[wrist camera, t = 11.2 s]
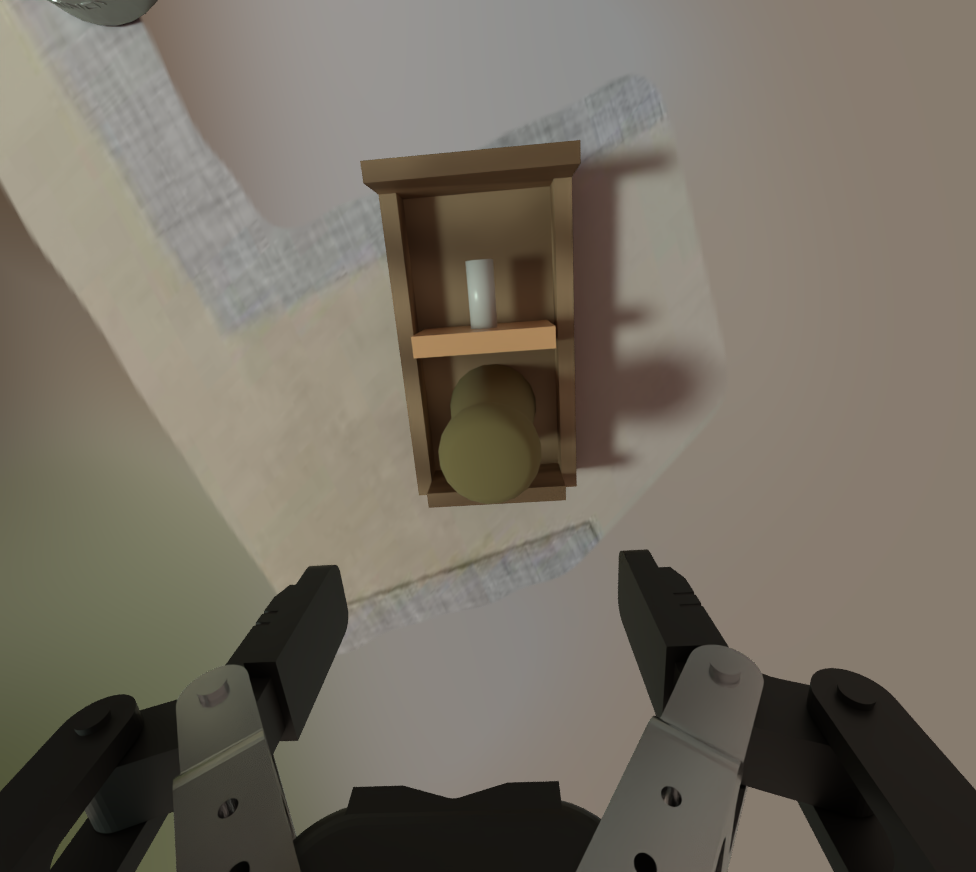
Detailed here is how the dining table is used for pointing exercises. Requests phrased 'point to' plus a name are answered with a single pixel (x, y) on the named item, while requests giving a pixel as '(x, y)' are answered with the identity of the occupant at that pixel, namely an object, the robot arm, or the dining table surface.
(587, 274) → the dining table surface
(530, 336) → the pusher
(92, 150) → the dining table surface
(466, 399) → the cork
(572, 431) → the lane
